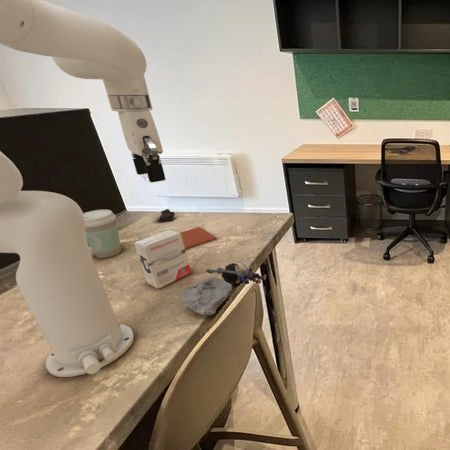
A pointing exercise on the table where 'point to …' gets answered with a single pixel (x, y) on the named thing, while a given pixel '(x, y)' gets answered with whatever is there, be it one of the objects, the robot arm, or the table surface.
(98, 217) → the coffee cup
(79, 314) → the robot arm
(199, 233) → the side mat
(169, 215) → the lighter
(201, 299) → the stone
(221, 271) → the toy
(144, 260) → the ink box
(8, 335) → the table surface
